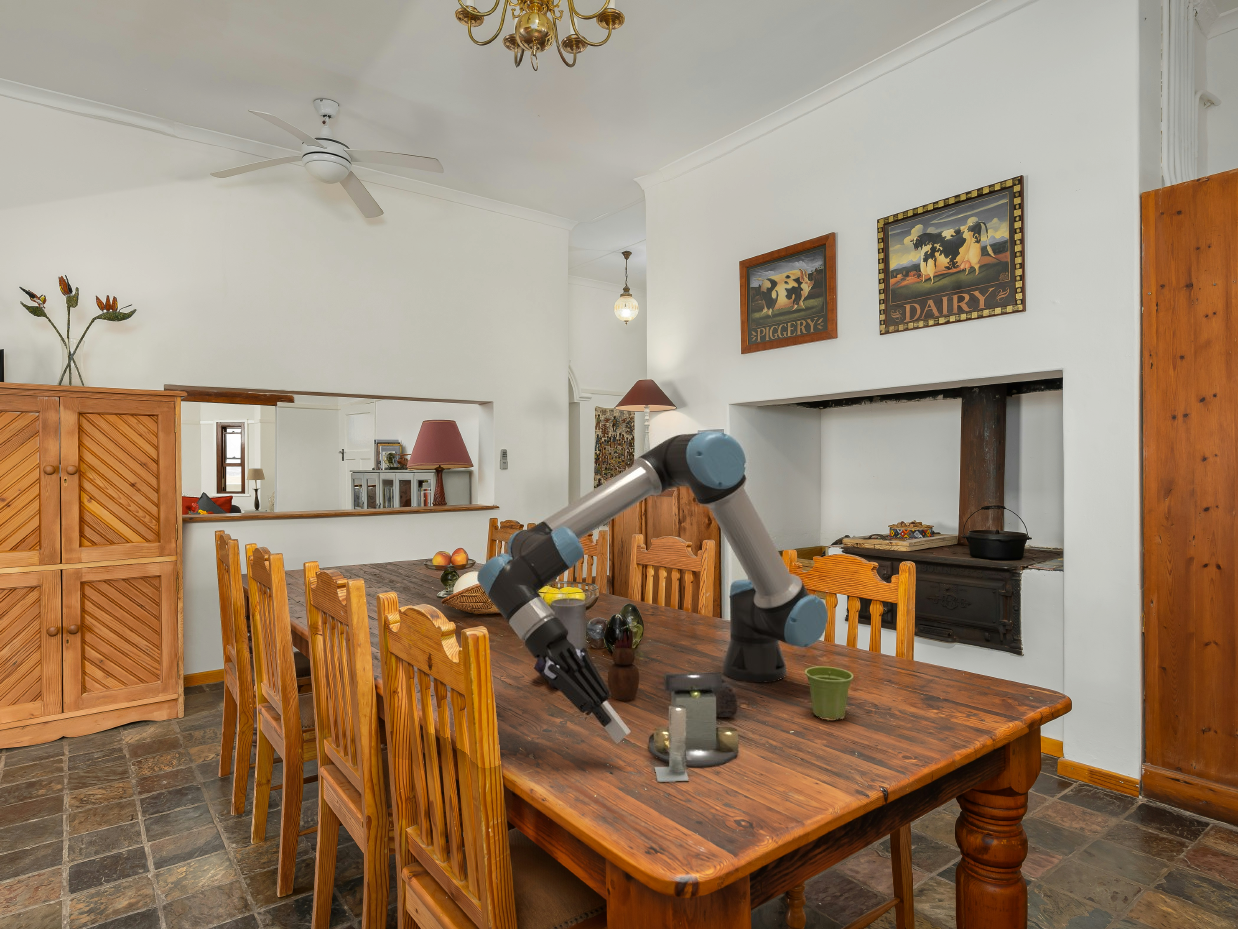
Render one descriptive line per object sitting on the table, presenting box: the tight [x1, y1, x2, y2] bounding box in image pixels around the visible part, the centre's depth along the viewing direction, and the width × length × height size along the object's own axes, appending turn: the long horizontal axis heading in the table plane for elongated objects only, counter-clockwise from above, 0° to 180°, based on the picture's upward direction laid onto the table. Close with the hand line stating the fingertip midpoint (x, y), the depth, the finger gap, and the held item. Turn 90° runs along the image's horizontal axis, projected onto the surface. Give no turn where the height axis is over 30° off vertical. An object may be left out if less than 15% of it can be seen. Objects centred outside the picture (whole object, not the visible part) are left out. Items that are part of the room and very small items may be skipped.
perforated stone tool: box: [713, 677, 739, 718], centre depth 141 cm, size 15×5×7 cm, turn 7°
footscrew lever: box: [653, 704, 687, 772], centre depth 115 cm, size 10×4×10 cm, turn 14°
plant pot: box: [804, 666, 854, 720], centre depth 137 cm, size 9×9×9 cm
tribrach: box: [648, 671, 739, 768], centre depth 122 cm, size 16×16×13 cm
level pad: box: [654, 766, 690, 783], centre depth 111 cm, size 5×5×1 cm
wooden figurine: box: [607, 629, 640, 701], centre depth 148 cm, size 7×6×15 cm
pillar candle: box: [550, 596, 588, 650], centre depth 187 cm, size 10×10×15 cm
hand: (623, 737), depth 115 cm, fingers closed
